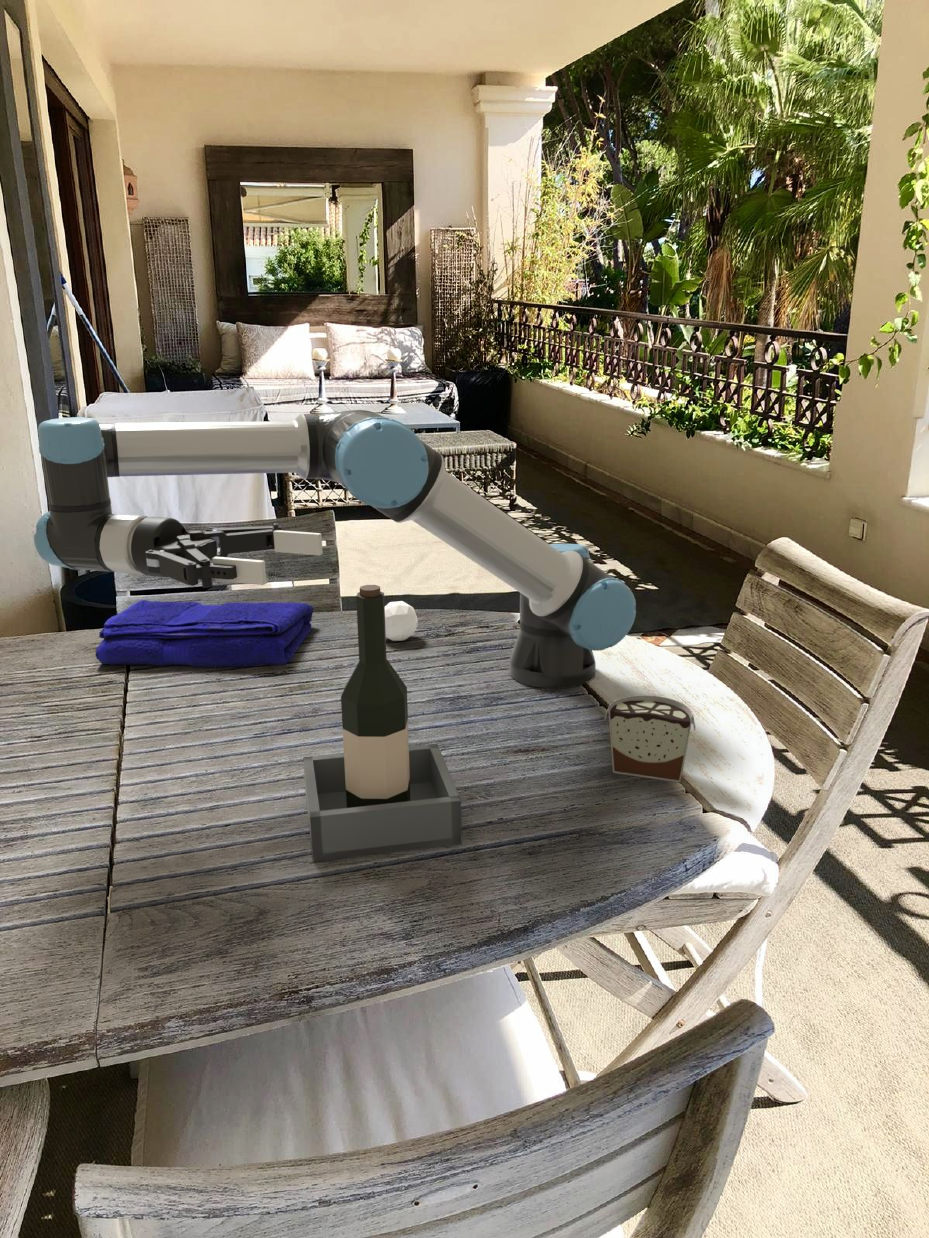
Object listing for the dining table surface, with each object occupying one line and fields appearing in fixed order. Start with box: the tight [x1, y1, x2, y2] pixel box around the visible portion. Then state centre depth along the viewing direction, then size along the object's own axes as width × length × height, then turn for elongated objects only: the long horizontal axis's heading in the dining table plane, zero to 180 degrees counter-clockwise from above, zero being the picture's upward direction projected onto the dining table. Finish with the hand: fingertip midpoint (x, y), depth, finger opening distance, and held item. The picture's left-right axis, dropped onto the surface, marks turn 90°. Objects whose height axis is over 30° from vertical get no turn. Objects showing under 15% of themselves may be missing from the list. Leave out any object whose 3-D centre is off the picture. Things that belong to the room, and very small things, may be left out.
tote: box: [302, 743, 463, 863], centre depth 124 cm, size 18×16×6 cm
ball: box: [385, 600, 419, 642], centre depth 190 cm, size 8×8×8 cm
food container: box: [603, 694, 696, 783], centre depth 137 cm, size 12×6×10 cm, turn 71°
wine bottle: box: [340, 584, 410, 808], centre depth 120 cm, size 8×8×30 cm
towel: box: [95, 599, 315, 668], centre depth 187 cm, size 26×36×9 cm
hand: (294, 557), depth 118 cm, fingers open, 13 cm apart
